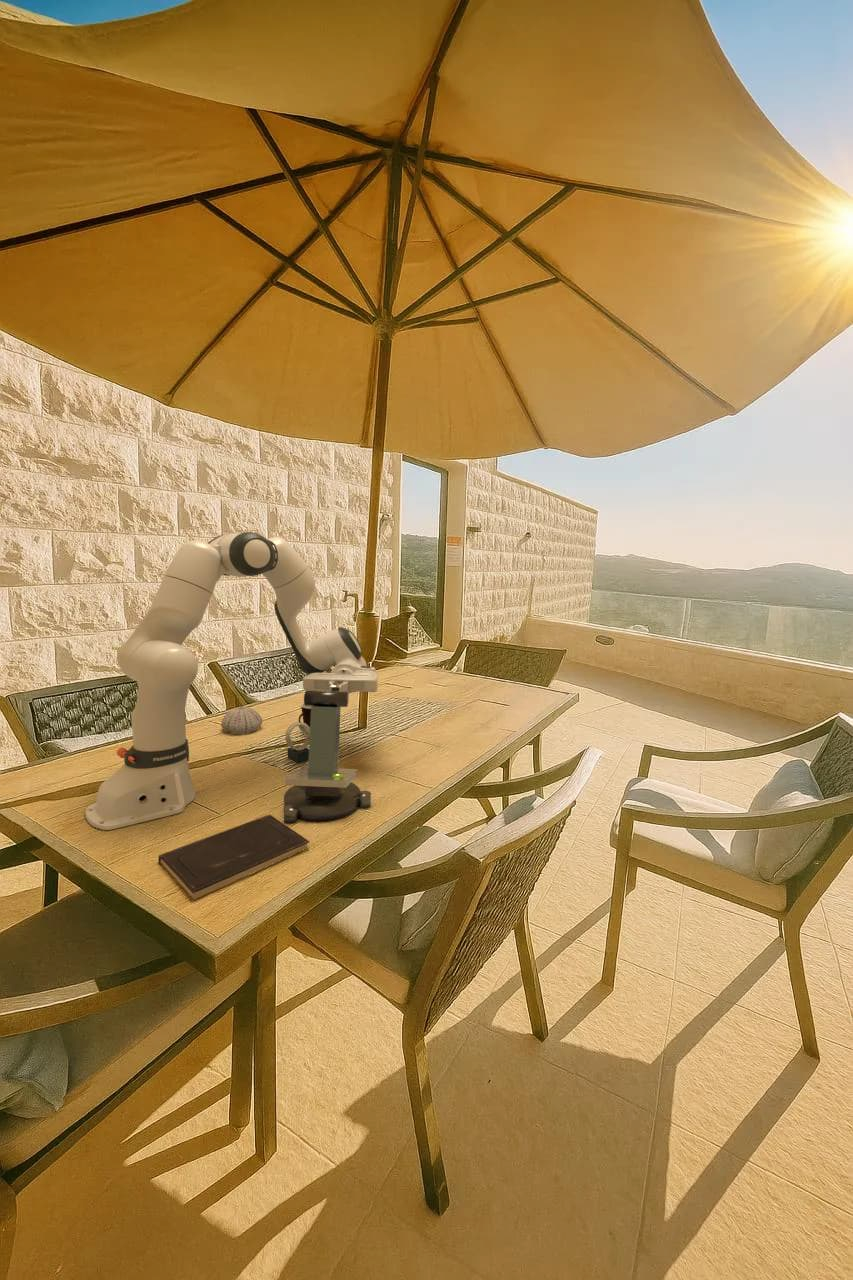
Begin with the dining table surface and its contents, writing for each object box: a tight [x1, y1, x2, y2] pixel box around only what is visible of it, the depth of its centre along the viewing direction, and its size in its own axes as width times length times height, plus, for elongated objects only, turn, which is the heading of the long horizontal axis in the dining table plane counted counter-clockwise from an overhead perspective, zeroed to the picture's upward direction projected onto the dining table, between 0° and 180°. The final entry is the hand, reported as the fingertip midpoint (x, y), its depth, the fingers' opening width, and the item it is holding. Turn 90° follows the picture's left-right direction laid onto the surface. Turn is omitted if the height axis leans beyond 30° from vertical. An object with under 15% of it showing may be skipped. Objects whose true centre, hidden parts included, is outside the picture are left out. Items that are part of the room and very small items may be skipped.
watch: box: [284, 721, 310, 764], centre depth 148 cm, size 6×8×11 cm
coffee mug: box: [298, 703, 311, 727], centre depth 170 cm, size 12×9×10 cm
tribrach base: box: [283, 781, 372, 825], centre depth 121 cm, size 20×21×6 cm
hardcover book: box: [158, 813, 310, 900], centre depth 99 cm, size 16×23×2 cm
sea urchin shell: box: [220, 705, 263, 735], centre depth 173 cm, size 13×14×8 cm
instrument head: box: [283, 690, 358, 788], centre depth 122 cm, size 14×14×21 cm
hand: (335, 689), depth 131 cm, fingers closed
